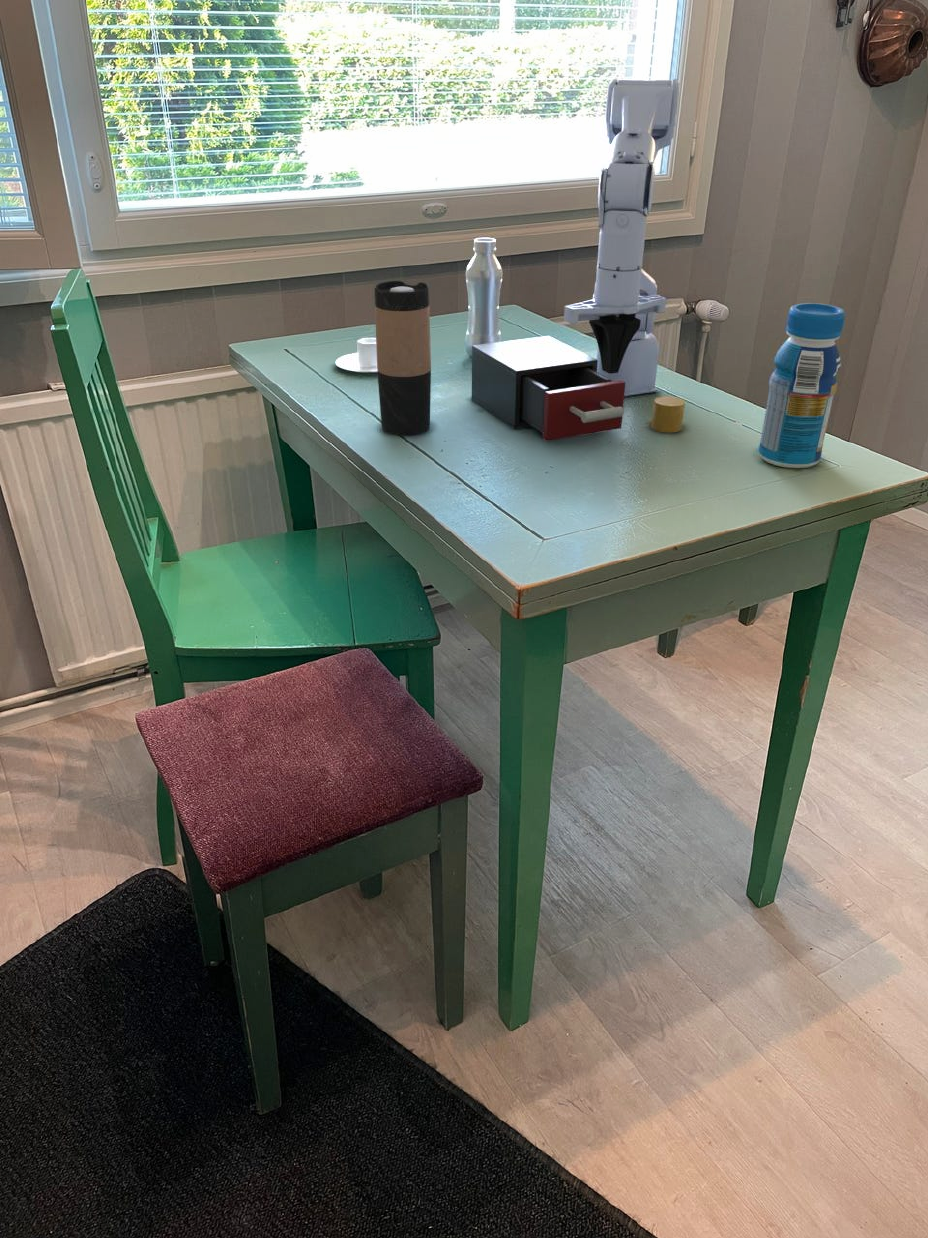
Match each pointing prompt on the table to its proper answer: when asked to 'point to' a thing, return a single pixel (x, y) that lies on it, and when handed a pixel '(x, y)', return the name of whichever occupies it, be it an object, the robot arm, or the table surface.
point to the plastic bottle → (483, 295)
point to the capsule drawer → (571, 402)
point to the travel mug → (403, 356)
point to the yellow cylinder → (668, 414)
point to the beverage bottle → (802, 387)
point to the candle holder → (361, 357)
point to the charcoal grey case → (517, 371)
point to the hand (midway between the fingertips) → (610, 371)
